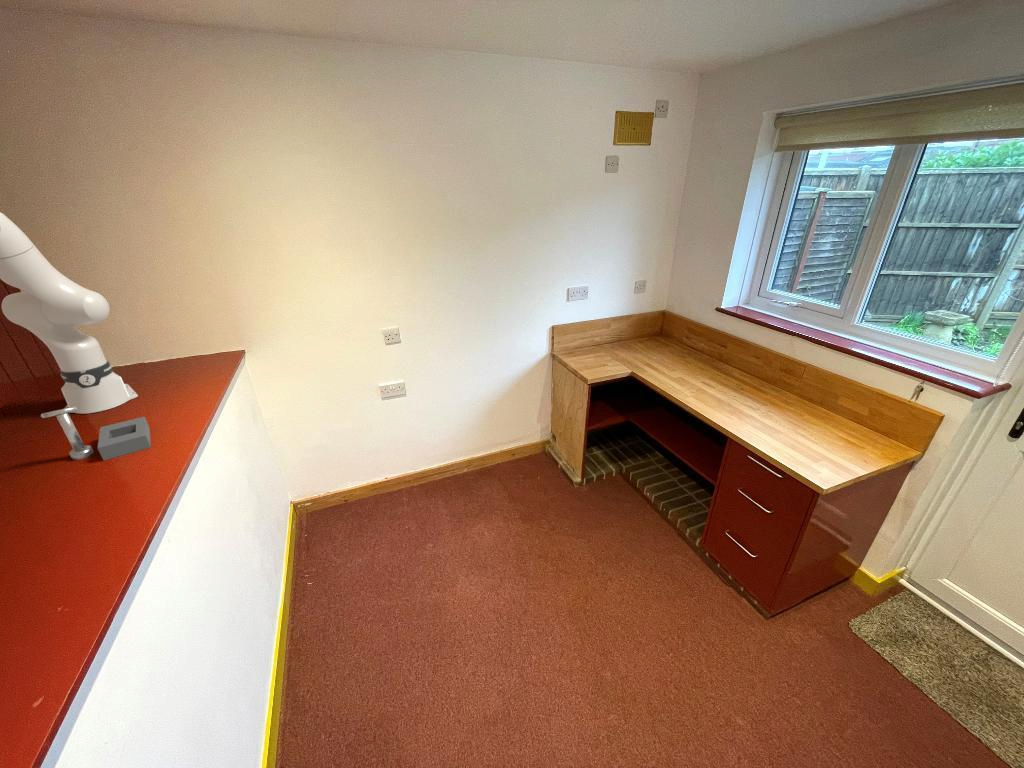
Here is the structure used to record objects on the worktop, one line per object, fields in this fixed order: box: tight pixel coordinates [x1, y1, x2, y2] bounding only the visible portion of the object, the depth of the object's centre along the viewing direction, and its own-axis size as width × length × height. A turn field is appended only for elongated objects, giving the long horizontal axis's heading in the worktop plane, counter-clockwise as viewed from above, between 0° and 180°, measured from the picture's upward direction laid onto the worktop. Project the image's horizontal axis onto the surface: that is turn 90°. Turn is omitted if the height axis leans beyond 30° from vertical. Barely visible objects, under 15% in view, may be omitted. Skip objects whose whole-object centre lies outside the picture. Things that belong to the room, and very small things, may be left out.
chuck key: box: [40, 406, 95, 461], centre depth 111 cm, size 4×7×14 cm
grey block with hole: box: [97, 416, 152, 461], centre depth 119 cm, size 14×10×4 cm
